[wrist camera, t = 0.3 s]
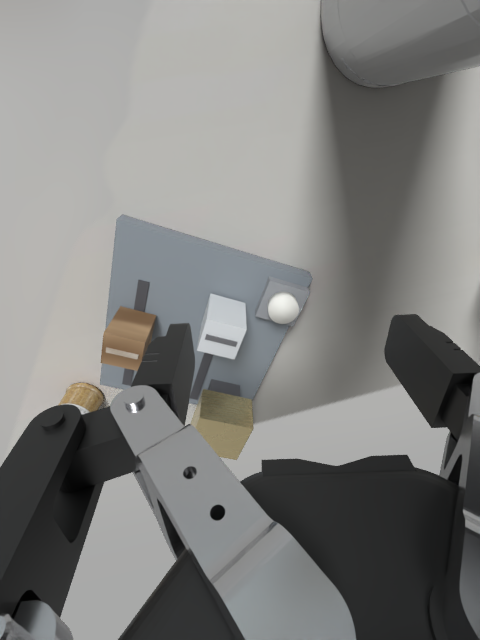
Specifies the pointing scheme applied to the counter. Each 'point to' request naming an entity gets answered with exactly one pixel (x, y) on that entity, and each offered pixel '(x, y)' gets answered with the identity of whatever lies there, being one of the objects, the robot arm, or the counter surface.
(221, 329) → the grey fader
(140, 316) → the walnut fader
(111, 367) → the board
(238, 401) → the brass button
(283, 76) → the counter surface
